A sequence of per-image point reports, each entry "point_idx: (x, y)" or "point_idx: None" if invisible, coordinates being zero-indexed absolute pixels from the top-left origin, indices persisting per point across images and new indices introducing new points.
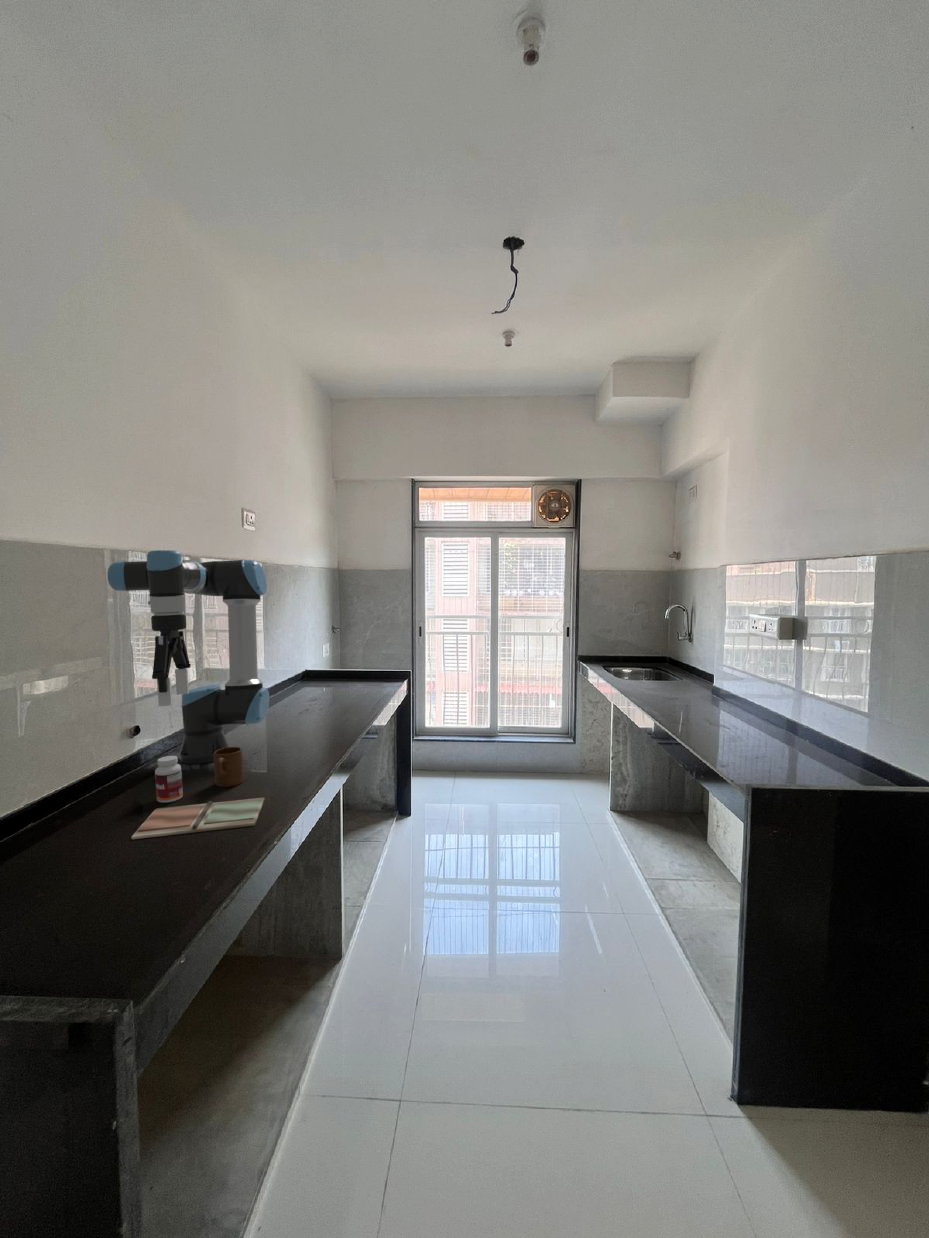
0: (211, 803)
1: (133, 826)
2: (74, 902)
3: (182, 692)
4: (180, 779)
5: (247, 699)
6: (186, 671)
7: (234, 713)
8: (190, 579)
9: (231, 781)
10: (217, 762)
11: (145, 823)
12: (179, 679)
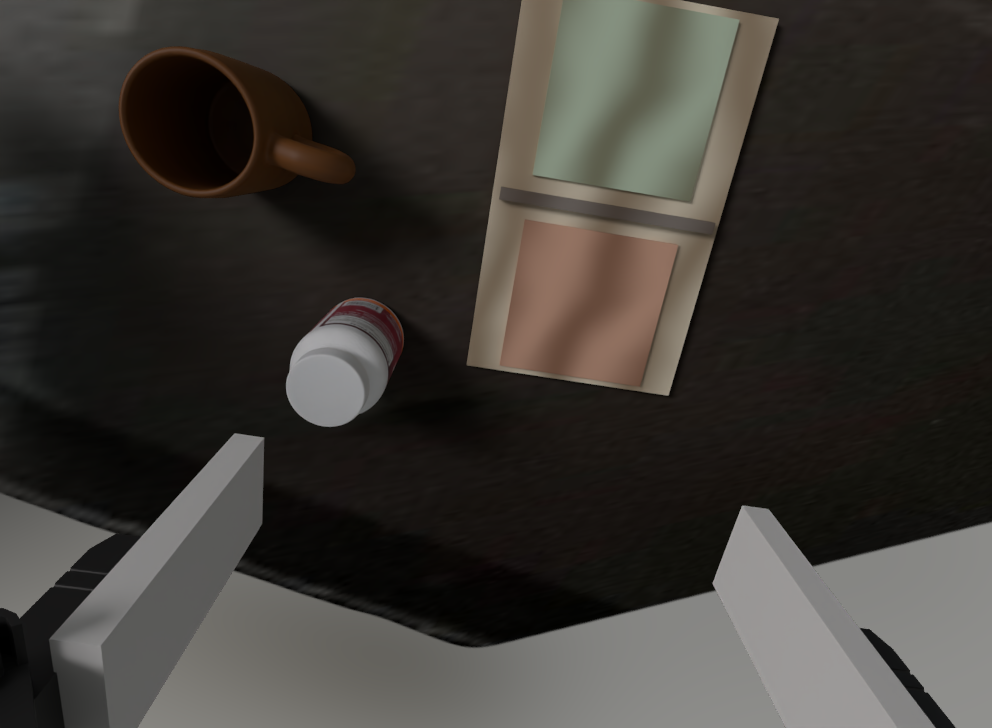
0: (512, 188)
1: (567, 403)
2: (961, 443)
3: (258, 489)
4: (360, 317)
5: None
6: (119, 610)
7: None
8: None
9: (307, 119)
10: (335, 172)
11: (594, 375)
12: (189, 604)
